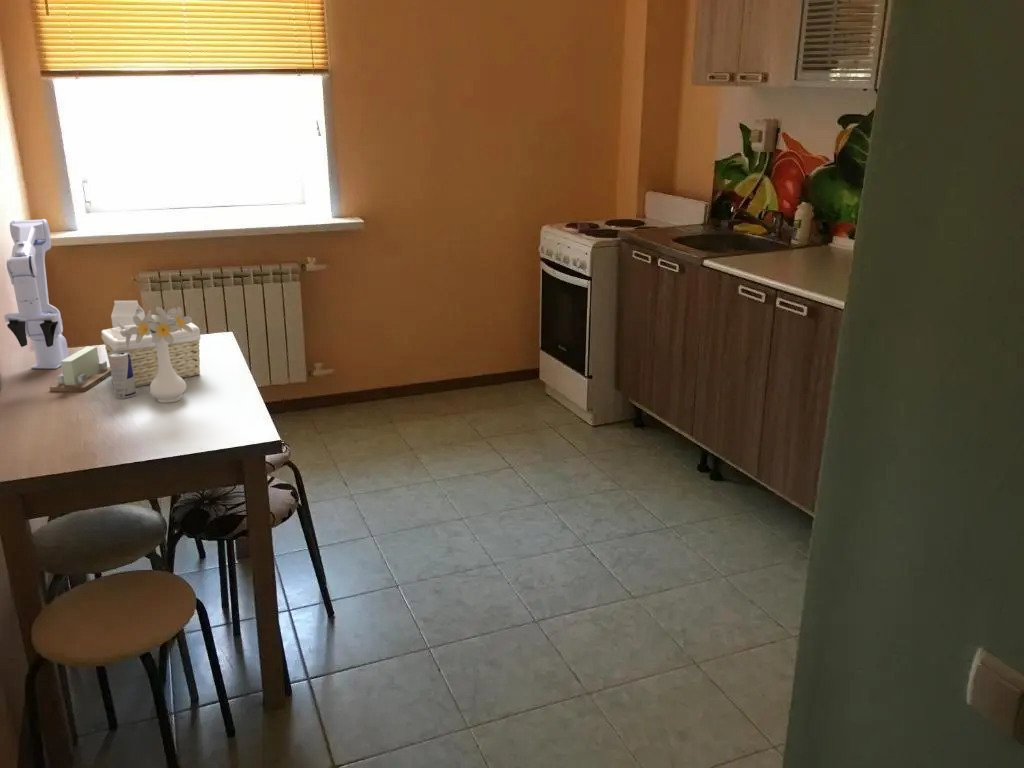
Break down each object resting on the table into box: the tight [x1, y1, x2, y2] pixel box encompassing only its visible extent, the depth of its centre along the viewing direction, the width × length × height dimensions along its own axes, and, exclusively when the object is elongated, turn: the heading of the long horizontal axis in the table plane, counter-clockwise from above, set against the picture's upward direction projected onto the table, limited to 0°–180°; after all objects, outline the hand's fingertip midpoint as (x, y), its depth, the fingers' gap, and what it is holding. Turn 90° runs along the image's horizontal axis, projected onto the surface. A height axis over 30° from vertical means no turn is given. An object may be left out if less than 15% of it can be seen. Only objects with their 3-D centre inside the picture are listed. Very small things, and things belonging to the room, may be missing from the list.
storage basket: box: [101, 322, 201, 388], centre depth 248 cm, size 24×16×15 cm
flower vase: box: [117, 306, 193, 404], centre depth 228 cm, size 13×18×25 cm
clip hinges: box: [56, 360, 108, 385], centre depth 247 cm, size 14×7×2 cm, turn 177°
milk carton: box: [110, 300, 146, 328], centre depth 262 cm, size 7×7×19 cm
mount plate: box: [49, 366, 111, 392], centre depth 247 cm, size 18×10×1 cm, turn 177°
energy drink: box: [108, 351, 137, 400], centre depth 233 cm, size 5×5×12 cm
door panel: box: [60, 346, 100, 385], centre depth 246 cm, size 14×3×7 cm, turn 177°
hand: (37, 345), depth 245 cm, fingers open, 7 cm apart
